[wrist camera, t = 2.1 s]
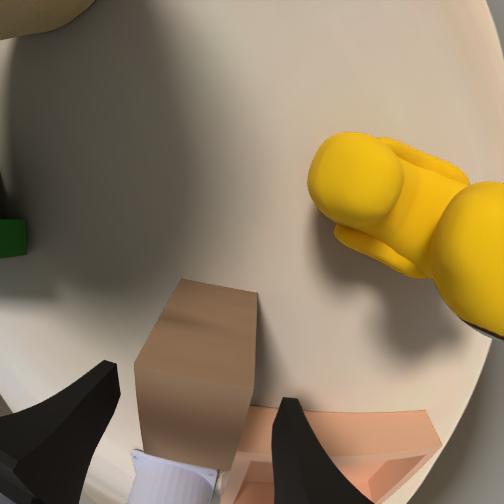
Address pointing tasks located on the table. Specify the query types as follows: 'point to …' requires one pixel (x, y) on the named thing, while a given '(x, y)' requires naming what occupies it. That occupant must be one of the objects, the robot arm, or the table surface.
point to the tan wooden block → (198, 375)
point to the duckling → (417, 220)
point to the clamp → (12, 238)
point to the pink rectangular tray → (336, 452)
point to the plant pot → (37, 15)
